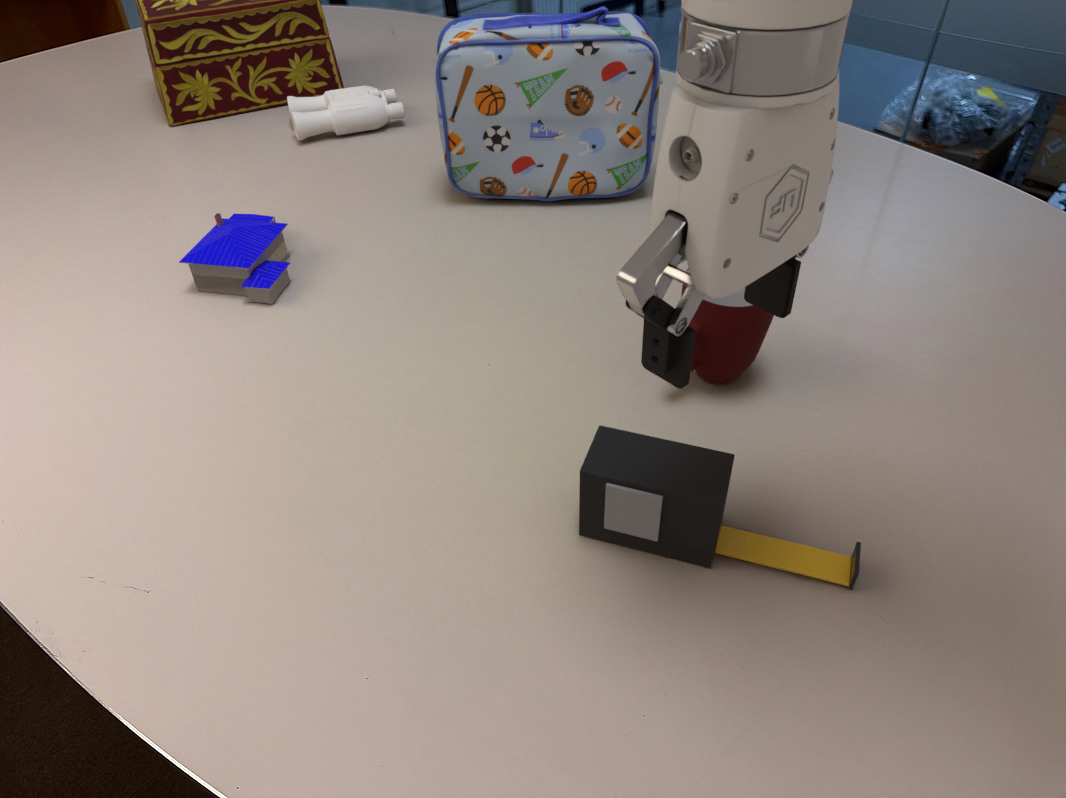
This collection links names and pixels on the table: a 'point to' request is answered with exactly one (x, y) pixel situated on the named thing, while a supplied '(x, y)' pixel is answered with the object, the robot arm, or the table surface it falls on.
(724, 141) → the robot arm
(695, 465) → the tape case
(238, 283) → the house
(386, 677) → the table surface
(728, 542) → the tape blade
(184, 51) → the decorative box
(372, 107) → the binoculars
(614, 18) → the lunch box
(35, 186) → the table surface
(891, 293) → the table surface
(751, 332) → the mug
